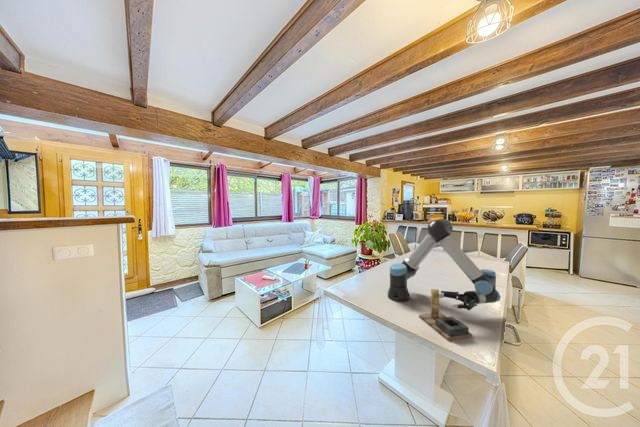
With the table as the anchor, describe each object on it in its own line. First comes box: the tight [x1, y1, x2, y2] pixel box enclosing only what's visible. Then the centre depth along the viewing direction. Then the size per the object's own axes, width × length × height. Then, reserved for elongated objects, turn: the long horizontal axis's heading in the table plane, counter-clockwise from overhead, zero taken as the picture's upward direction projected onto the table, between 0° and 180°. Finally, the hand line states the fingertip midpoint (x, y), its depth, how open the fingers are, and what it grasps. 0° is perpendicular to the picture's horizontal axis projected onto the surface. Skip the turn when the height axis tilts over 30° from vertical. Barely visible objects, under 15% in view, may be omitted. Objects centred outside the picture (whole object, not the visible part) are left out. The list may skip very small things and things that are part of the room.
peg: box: [430, 288, 440, 319], centre depth 120 cm, size 4×4×16 cm
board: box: [418, 311, 473, 341], centre depth 114 cm, size 22×14×5 cm, turn 10°
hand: (442, 301), depth 120 cm, fingers open, 13 cm apart
